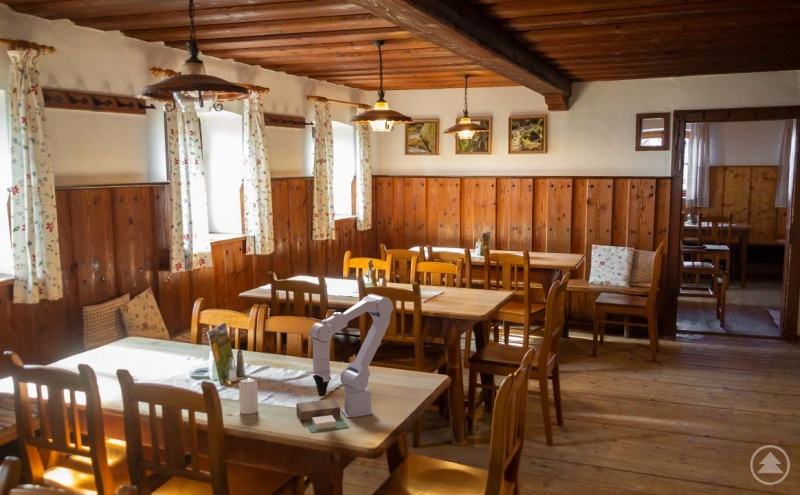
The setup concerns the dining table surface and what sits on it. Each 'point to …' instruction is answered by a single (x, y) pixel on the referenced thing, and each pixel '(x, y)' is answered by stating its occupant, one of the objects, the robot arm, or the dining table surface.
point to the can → (248, 396)
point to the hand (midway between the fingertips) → (322, 395)
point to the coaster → (323, 422)
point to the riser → (317, 409)
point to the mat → (339, 425)
